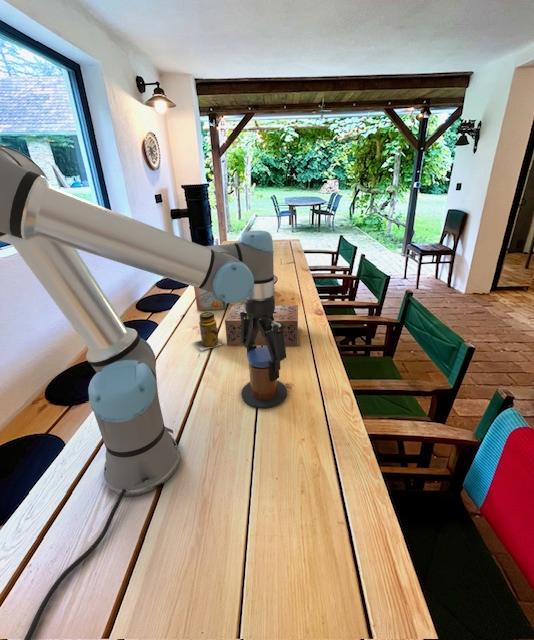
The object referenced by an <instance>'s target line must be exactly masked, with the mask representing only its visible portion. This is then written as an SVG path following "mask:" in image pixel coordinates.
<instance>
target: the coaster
mask: <svg viewBox="0 0 534 640" xmlns="http://www.w3.org/2000/svg"><path fill="white" fill-rule="evenodd" d="M277 387H278V392H277V395H276V396H275V397H273V398H272V399H269V400H259V399H256V398H254V397H253V396H252V395H251V387H250V382H247V384H245V385H244V386H243V388H242V389H241V393H240V395H241V399H242V401H243V402H244V403H245V405H248V406H250V407H252V408H255V409H264V410H265V409H272V408H275V407H278V406H279V405H281V404H282V403H283V402H285V400H286V399H287V397H288V388H287V387H286V385H285V384H283V383H282V382H281V381H280V380H277Z"/></svg>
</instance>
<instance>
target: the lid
mask: <svg viewBox="0 0 534 640" xmlns="http://www.w3.org/2000/svg"><path fill="white" fill-rule="evenodd" d="M270 359H271V356H270V353H269V350H268V347H267V346H259V347H257V348H255V349H252V350H251V351H250V352H249V353H248V356H247V363H248V365H249V364H250V365H252V366H254V367H258V368H266V367H270V364H269V360H270Z"/></svg>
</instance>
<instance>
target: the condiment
mask: <svg viewBox="0 0 534 640" xmlns="http://www.w3.org/2000/svg"><path fill="white" fill-rule="evenodd" d="M198 317H199V323H198V324H199V325H198V326H199V331H200V338H201V339H200V340H199V341H195V342H193V345H194V346H195V347H196V348H197V349H199V351H201V352H203V351H206V350H209V349H212V348H214V347H218V346H222V345H223V343H222V342H220V340H219V336H218V327H217V320H216V318H215V313H214V312H212V311H204V312H203V311H202V312H201V313H200V314H199V316H198Z"/></svg>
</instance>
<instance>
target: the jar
mask: <svg viewBox="0 0 534 640" xmlns="http://www.w3.org/2000/svg"><path fill="white" fill-rule="evenodd" d="M248 370H249V383H250V387H251V395H252V396H253V397H254V398H256V399H259V400H269V399H272V398H273V397H275V396H276V395H277V392H278V387H277V381H278V379H277V380H275V381H273V382H271V381H270V367H266V368H258V367H254V366H252V365H250V364H249V363H248Z"/></svg>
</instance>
